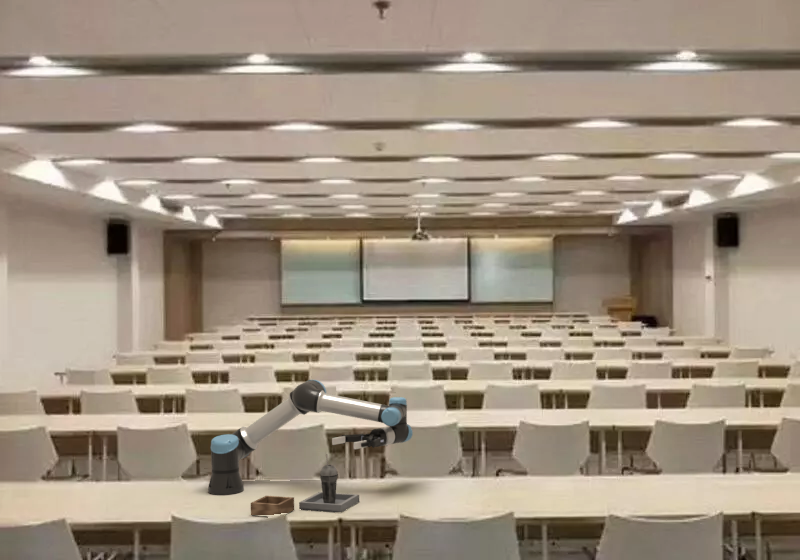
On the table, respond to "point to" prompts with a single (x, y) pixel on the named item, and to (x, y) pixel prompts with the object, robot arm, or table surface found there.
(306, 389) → the robot arm
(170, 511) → the table surface
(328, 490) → the beverage cup
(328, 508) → the tray
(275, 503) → the brown wooden box
